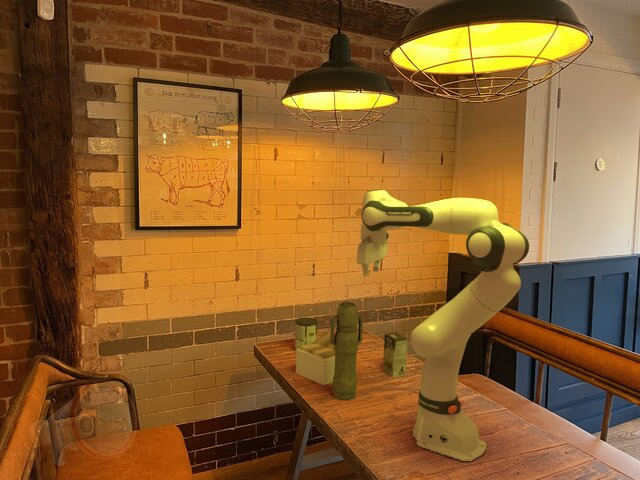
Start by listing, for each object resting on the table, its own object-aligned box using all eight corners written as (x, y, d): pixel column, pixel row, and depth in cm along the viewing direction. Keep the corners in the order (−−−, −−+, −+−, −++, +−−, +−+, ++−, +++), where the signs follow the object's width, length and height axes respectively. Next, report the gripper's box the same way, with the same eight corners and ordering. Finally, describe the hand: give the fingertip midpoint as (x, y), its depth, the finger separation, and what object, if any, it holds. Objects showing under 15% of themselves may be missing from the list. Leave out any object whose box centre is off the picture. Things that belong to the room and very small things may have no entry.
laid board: (338, 354, 196) (338, 350, 196) (325, 359, 191) (325, 355, 190) (314, 345, 206) (314, 341, 206) (300, 349, 200) (300, 346, 200)
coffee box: (382, 369, 208) (383, 333, 206) (395, 367, 210) (397, 331, 208) (393, 378, 199) (395, 340, 197) (406, 376, 202) (408, 338, 200)
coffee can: (302, 344, 236) (303, 316, 234) (320, 349, 230) (321, 319, 229) (290, 350, 227) (290, 321, 225) (308, 355, 222) (309, 325, 220)
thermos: (364, 397, 181) (368, 305, 176) (335, 402, 176) (338, 308, 172) (353, 388, 189) (356, 299, 184) (325, 392, 184) (328, 301, 180)
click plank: (350, 342, 201) (349, 339, 200) (340, 353, 197) (339, 351, 196) (326, 334, 211) (325, 331, 210) (315, 344, 207) (314, 342, 206)
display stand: (353, 373, 203) (354, 349, 202) (323, 385, 190) (324, 360, 189) (326, 362, 214) (326, 340, 213) (295, 373, 201) (296, 349, 200)
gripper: (370, 239, 163) (368, 279, 165) (391, 233, 181) (388, 270, 183) (353, 237, 166) (351, 277, 168) (375, 232, 184) (373, 268, 186)
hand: (371, 273), depth 176 cm, fingers open, 8 cm apart
